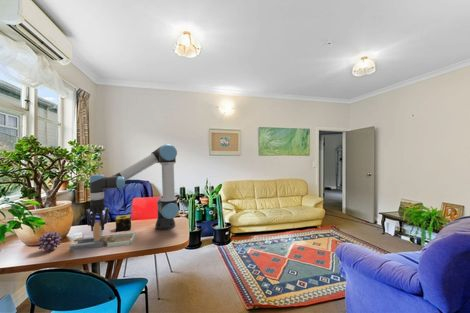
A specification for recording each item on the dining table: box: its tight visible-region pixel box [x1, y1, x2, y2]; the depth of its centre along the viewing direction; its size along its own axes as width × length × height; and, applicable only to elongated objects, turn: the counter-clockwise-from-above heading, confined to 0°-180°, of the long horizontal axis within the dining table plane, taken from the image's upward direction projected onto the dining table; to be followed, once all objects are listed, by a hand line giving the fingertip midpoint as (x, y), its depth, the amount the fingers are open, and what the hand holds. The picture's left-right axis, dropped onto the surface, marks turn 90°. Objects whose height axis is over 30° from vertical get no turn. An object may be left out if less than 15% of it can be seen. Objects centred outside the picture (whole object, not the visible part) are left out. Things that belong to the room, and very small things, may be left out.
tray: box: [107, 232, 137, 248], centre depth 137 cm, size 13×16×3 cm
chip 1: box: [99, 234, 109, 244], centre depth 134 cm, size 4×4×4 cm
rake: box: [94, 221, 101, 242], centre depth 133 cm, size 3×6×13 cm, turn 15°
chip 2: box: [107, 234, 117, 244], centre depth 135 cm, size 4×4×4 cm
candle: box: [115, 214, 132, 233], centre depth 162 cm, size 10×10×10 cm
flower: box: [36, 230, 64, 253], centre depth 126 cm, size 12×12×12 cm
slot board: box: [69, 236, 108, 252], centre depth 132 cm, size 20×14×4 cm
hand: (97, 235), depth 133 cm, fingers closed on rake, 3 cm apart
